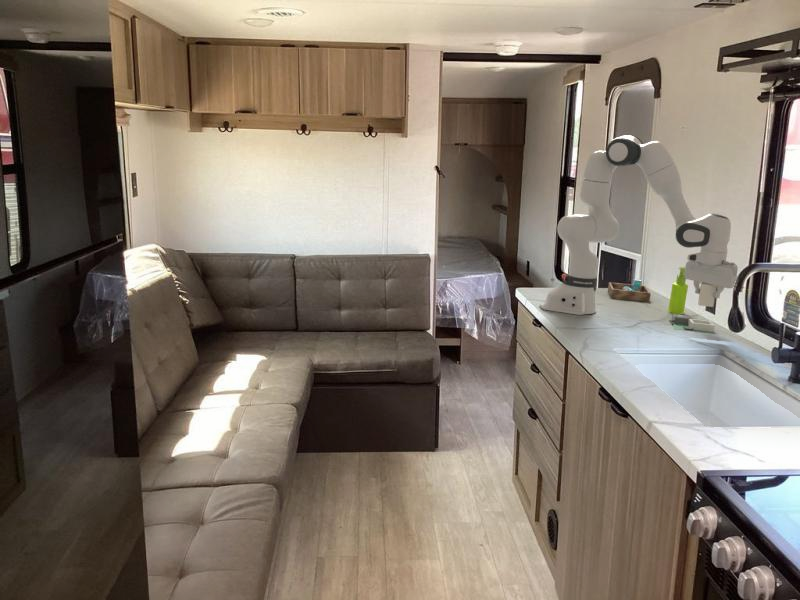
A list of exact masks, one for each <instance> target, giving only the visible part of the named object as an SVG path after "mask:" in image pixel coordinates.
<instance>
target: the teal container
mask: <svg viewBox="0 0 800 600" xmlns="http://www.w3.org/2000/svg"><path fill="white" fill-rule="evenodd" d="M632 285H633V289H631V288H630V287H628V286H625V287H623V289H622V290H628V291H638V292H641V287H642V286H643V280H642V279H638V278H635V279H633V283H632Z"/></svg>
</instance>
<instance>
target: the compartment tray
mask: <svg viewBox="0 0 800 600" xmlns="http://www.w3.org/2000/svg"><path fill="white" fill-rule="evenodd" d="M671 327H673V329H674V330H675V331H676V330H677V331H685V332H696V333H704V334H712V335H715V334H716V332H715V331H714V330H715V324H714V323H712V321H711V320H704V319H694V318H690V319H689V321H688V325H684V324H675V323H674V325H672V324H671Z"/></svg>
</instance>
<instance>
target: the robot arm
mask: <svg viewBox="0 0 800 600" xmlns="http://www.w3.org/2000/svg"><path fill="white" fill-rule="evenodd" d="M632 165H638V166H639V168H640V169H641V171H642V173H643V175H644V177H645V179H646V181H647V183H648V185H649V187H650V188H651V189H652V191H653V192H654V194H655V195H657V196H658V197H659V198H661V199H662V200H663V202H665V204H666V206H667V208H668V210H669V211H670V214H671V216H672V218H673V220H674V223H675V240H676V242H677V243H678V244H679V245H680V246H681V247H684V248H687V249H691V248H698V247H700V251H699V252H697V253H690V254H688V255H687V262H686V263H685V270H684V277H685V279H686V280H689V281H693V286H694V288H695V290H694V293H695V294H698V295H699V293H700V286H701V283H706V284H711V285H715V286H717V289H718V290H717V291H716V293H713V297H714V298H715V299H720V297H721V296H720V295H721V293H723V291H724V290H725V289H734V288H733V286H734V284H735V281H736V279H737V280H738V269H739V268H738V265H737V264H736V263H735V262H732V261H727V256H728V255H727V254H728V245H729V241H730V239H731V231H732V230H731V229H732V227H731V226H732V223H731V220H730V219H729V218H728V217H727V216H725V215H721V214H717V213H708V214H707V215H704V216H702V217H699V218H695V217H694V216H693V214H692V213H691V210H690V208H689V206H688V203H687V202H686V200H685V198H684V195H683V190H682V180H681V176H680V173H679V169H678V166H677V165H676V163H675V161H674V159H673V156H671V154H670V152H669V151H668V149H667V147H666V146H665V144H664V143H662V142H661V141H657V140H656V141H655V140H654V141H650V142H647V143H644V144H643V141H642V140H641V139H640V138H639V137H637V136H635V135H620V136H618V137H615V138H613V139H612V140H611V141H610V142H609V143H607V145H606V148H605V150H597V151H594V152H592V153H591V154H590V155H589V156H588V159H587V162H586V165H585V166H584V171H583V176H582V181H581V182H582V183H581V186H580V193H579V197H580V200H581V202H582V203H583V204H584V205H586V206H587V207H588V214H569V215H564V216H563V217H561V218H560V220H559V222H558V224H557V228H556V229H557V234H558V236H559V238H560V239H561V240H562V241H563V242H564V244H565V245H566V246H567V248H568V252H569V264H568V265H569V267H568V269H569V270H568V274H566V273H562V275H561V279H562V283H560V284H559V285H557V286H555V287H553V288H551V289H550V290H549V291H548V293H547V295H546V298H545V300H542V301H541V302H540V305H539V308H541V309H542V310H544V311H550V312H557V313H564V314H570V315H571V314H572V315H578V316H584V315H590V314H595V313H597V309H596V291H597V287H598V286H597V285H598V277H597V276H598V269H599V268H598V267H599V263H600V262H599V257H598V256H597V255H596V254H595V253H594V252H592V251H591V250H590V245H589V244H590V243H598V244H599V243H601V244H603V243H608V242H611V241H614V240H615V239H617V237H618V235H619V232H620V224H619V222H618V220H617V218H616V217H614V215H613V213H612V212H611V208H610V196H611V189H612V183H613V178H614V174H615V173H614V172H615V171H616V169H617V168H618V167H627V166H632Z"/></svg>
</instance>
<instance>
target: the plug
mask: <svg viewBox="0 0 800 600" xmlns="http://www.w3.org/2000/svg"><path fill="white" fill-rule="evenodd" d="M699 286H700V293H699V294H698V301H697V304H698V306H703V307H711V308H714V305H715V299H716V298H714V297H713V293H716V291H717V290H718V289H717V286H715V285H711V284H706V283H702V282H701V283H700V285H699Z"/></svg>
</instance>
